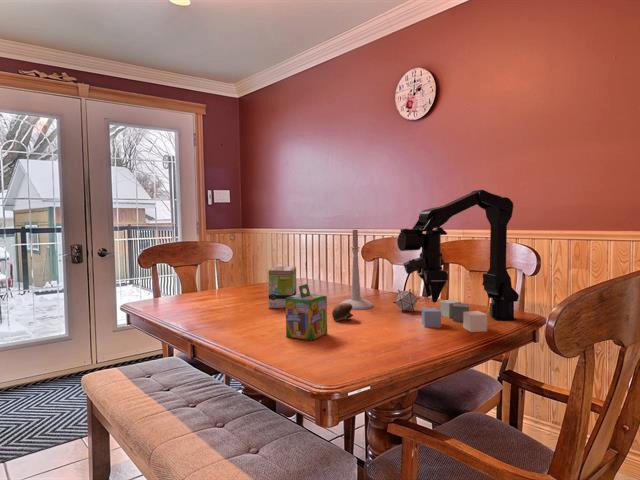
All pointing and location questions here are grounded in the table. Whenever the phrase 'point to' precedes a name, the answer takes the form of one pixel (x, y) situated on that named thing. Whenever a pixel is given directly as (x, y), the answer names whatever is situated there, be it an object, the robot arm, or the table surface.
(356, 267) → the candlestick
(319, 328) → the chalk box
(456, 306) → the charcoal cube
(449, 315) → the sage cube
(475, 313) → the cream cube
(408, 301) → the game die
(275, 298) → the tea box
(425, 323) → the slate blue cube
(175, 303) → the table surface
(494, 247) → the robot arm
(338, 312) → the mushroom
